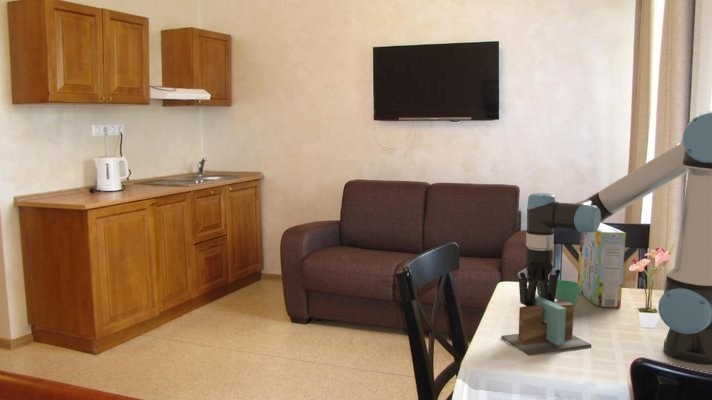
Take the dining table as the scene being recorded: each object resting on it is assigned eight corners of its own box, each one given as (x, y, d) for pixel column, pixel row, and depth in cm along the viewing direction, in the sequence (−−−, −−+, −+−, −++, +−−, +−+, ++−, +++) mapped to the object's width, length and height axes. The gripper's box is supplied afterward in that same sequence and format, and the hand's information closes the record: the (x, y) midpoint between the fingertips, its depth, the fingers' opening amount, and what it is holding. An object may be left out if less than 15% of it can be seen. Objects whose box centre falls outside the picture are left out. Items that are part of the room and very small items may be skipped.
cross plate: (564, 343, 174) (565, 308, 173) (556, 344, 174) (558, 309, 172) (534, 327, 188) (536, 294, 186) (527, 328, 187) (528, 295, 186)
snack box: (623, 308, 213) (627, 232, 210) (597, 308, 213) (600, 232, 210) (599, 290, 235) (602, 221, 231) (575, 290, 235) (578, 221, 231)
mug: (585, 314, 207) (586, 284, 205) (570, 320, 200) (571, 289, 199) (544, 304, 217) (545, 276, 216) (528, 310, 211) (529, 281, 209)
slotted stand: (591, 347, 177) (593, 309, 176) (528, 355, 171) (530, 316, 170) (560, 331, 190) (561, 295, 189) (501, 338, 184) (502, 302, 183)
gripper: (554, 243, 188) (551, 320, 191) (508, 246, 183) (505, 326, 186) (570, 248, 180) (567, 328, 184) (522, 252, 176) (520, 334, 179)
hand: (536, 327), depth 185 cm, fingers closed on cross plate, 2 cm apart
